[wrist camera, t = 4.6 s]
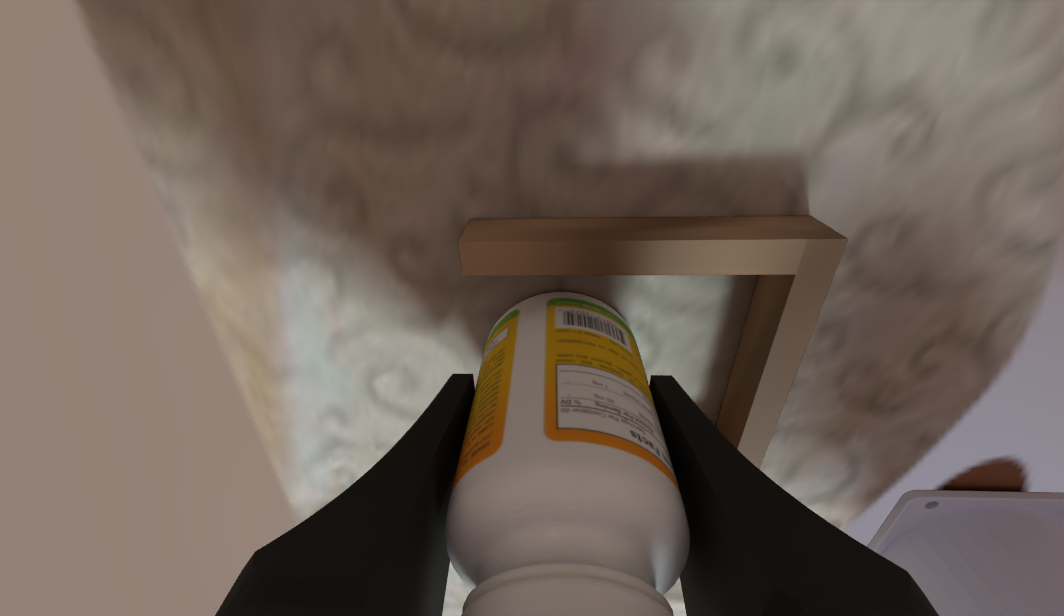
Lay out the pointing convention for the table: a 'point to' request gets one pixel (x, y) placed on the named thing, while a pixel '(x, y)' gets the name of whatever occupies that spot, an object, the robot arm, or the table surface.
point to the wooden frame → (692, 249)
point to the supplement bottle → (565, 472)
